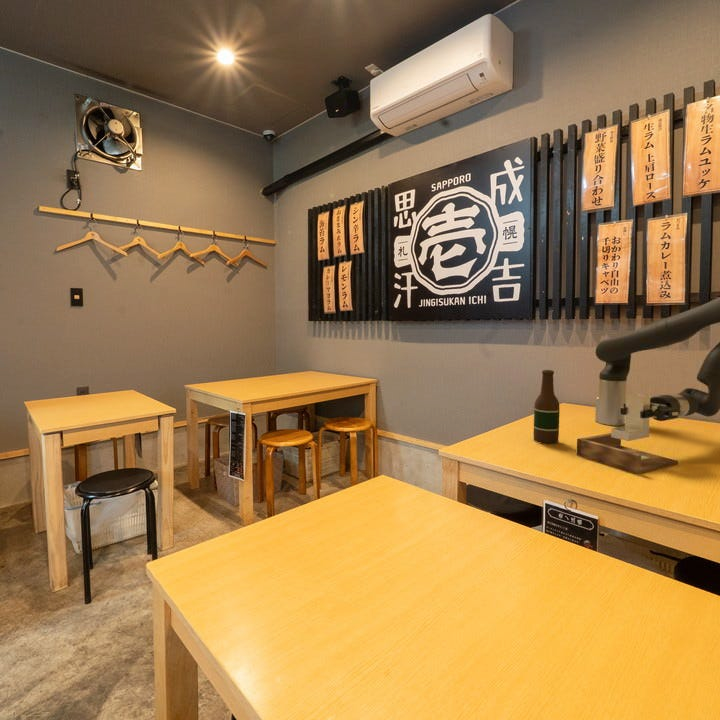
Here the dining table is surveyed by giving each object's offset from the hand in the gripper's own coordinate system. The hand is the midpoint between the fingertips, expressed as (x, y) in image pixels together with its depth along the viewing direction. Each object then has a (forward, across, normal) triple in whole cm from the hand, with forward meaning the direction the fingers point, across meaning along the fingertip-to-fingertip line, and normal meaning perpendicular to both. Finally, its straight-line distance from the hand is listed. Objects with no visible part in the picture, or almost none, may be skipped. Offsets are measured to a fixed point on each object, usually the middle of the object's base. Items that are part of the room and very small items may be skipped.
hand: (631, 412), depth 122 cm
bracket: (0, 0, +7) cm, 7 cm away
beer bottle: (+5, -25, +14) cm, 29 cm away
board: (0, -1, +14) cm, 14 cm away
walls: (0, -1, +14) cm, 14 cm away
